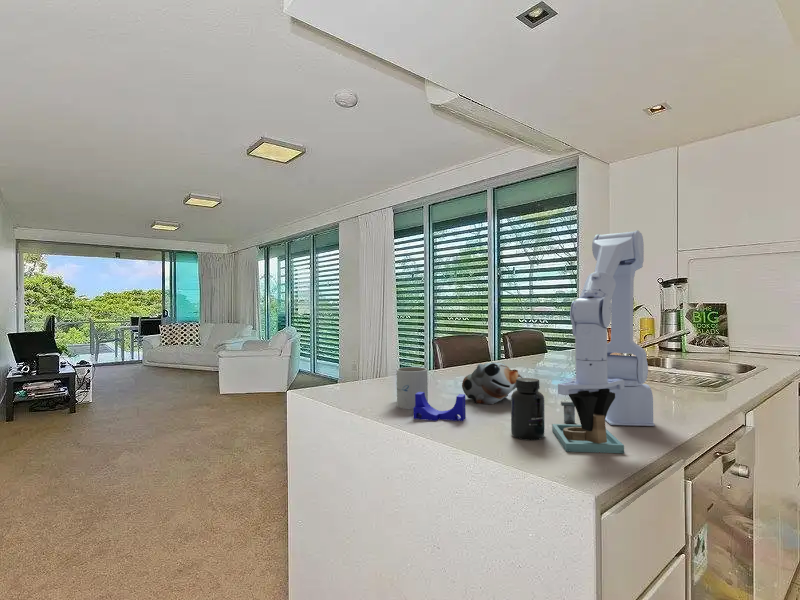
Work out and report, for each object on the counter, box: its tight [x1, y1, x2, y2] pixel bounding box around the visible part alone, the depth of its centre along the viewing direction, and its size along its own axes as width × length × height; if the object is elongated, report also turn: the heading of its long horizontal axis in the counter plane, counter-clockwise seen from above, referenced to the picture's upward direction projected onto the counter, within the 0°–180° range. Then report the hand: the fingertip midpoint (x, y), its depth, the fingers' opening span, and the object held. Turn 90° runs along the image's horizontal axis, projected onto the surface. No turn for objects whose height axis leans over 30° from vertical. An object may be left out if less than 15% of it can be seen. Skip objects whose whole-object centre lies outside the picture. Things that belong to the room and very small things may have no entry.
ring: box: [563, 414, 607, 443], centre depth 89 cm, size 9×6×5 cm, turn 20°
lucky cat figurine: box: [461, 362, 524, 405], centre depth 128 cm, size 15×12×14 cm
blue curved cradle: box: [412, 392, 467, 422], centre depth 110 cm, size 12×4×6 cm, turn 69°
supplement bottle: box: [510, 377, 546, 441], centre depth 95 cm, size 7×7×12 cm
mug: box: [396, 366, 429, 410], centre depth 126 cm, size 12×9×10 cm
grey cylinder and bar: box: [560, 401, 576, 425], centre depth 105 cm, size 4×2×5 cm, turn 82°
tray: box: [551, 423, 625, 454], centre depth 91 cm, size 10×14×2 cm
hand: (592, 429), depth 87 cm, fingers closed on ring
